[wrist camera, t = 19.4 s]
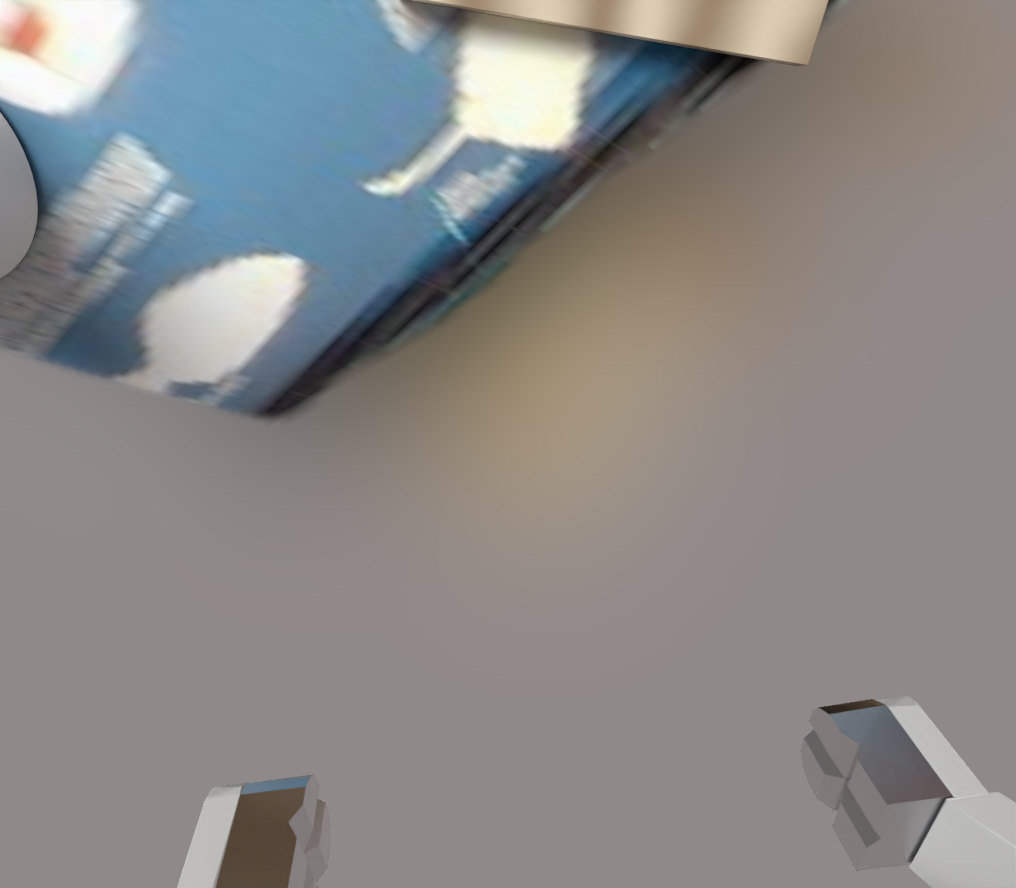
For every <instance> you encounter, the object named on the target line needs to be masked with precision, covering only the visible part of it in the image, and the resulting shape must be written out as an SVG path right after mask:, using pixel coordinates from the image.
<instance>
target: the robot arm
mask: <svg viewBox="0 0 1016 888" xmlns="http://www.w3.org/2000/svg"><path fill="white" fill-rule="evenodd" d="M37 214H38V205H37V194H36V188H35V183H34V179H33V175H32V172H31V169H30V166H29V163H28V160H27V158H26V155H25V153H24V151H23V149H22V147H21V145H20V143H19V141H18V139H17V137H16V135H15V134H14V132H13V130H12V129H11V127H10V126H9V124H8V122H7V121H6V120H5V118H4V117H3V115H2V114H1V113H0V278H2V277H3V276H5V275H6V274H8V273H9V272H10V271H11V270H13V269H14V268H15V267H16V266H17V265H18V264H19V263H20V261H21V260H22V259H23V257H24V256H25V255H26V253H27V251H28V249H29V247H30V245H31V243H32V240H33V237H34V234H35V230H36V224H37ZM809 721H810V723H811V724H812V727H813V728H814V730H813V731H812V732H810V733H809V734H808V735H807V736H806V737H805V738H804V740H803V744H802V749H801V755H802V762H803V768H804V771H805V774H806V776H807V779H808V782H809V784H810V786H811V788H812V789H813V791H814V793H815V795H816V797H817V798H818V799H819V800H820V801H822V802H823V803H825V804H826V805H827V806H828V807H830V808H831V809H832V810H834V812H833V824H832V827H833V828H834V830H835V832H836V834H837V836H838V838H839V840H840V841H841V843H842V845H843V847H844V849H845V850H846V852H847V854H848V856H849V858H850V860H851V861H852V863H853V865H854V867H855V869H856V870H857V871H858V870H866V869H874V868H882V867H891V866H899V865H907V864H911V865H910V867H909V868H910V869H911V870H913V871H914V872H915V873H916V874H917V875H918V876H919V877H920V878H922V879H923V880H924V881H925V882H926V883H927V884H928V885H930V886H931V887H932V888H1016V803H1015V802H1013V801H1011V800H1010V799H1009V798H1007V797H1005V796H1004V795H1002V794H1001V793H999V792H998V791H997V792H987V790H986V789H985V788H984V786H983V785H982V784H981V783H980V781H979V780H978V779H977V778H976V777H975V775H974V774H973V773H972V771H971V770H970V769H969V768H968V766H967V765H966V764H965V763H964V761H963V760H962V759H961V758H960V756H959V755H958V754H957V753H956V751H955V750H954V749H953V748H952V746H951V745H950V744H949V743H948V741H947V740H946V739H945V737H944V736H943V735H942V734H941V732H940V731H939V730H938V729H937V727H936V726H935V725H934V724H933V723H932V721H931V720H930V719H929V717H928V716H927V715H926V714H925V712H924V711H923V710H922V709H921V707H920V706H919V705H918V704H917V703H916V702H915V701H914V700H912V699H911V698H909V697H908V696H895V697H889V698H882V699H870V700H863V701H857V702H850V703H844V704H837V705H831V706H824V707H819V708H817V709H815V710H814V711H812V714H811V717H810V720H809ZM318 793H319V784H318V782H317V780H316V777H315V775H307V776H299V777H292V778H284V779H277V780H269V781H262V782H253V783H241V784H235V785H227V786H220V787H213V788H212V790H211V792H210V793H209V795H208V796H207V798H206V800H205V802H204V805H203V808H202V811H201V814H200V817H199V821H198V824H197V827H196V830H195V833H194V837H193V840H192V843H191V846H190V849H189V852H188V855H187V858H186V861H185V865H184V868H183V871H182V874H181V877H180V880H179V883H178V886H177V888H318V886H317V884H316V883H317V882H318V880H319V879H320V877H321V876H322V875H323V873H324V872H325V870H326V869H327V867H328V859H329V850H330V820H329V814H328V809H327V806H326V803H325V802H323V801H321V800H319V799H318Z"/></svg>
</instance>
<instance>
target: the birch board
mask: <svg viewBox="0 0 1016 888" xmlns="http://www.w3.org/2000/svg"><path fill="white" fill-rule="evenodd" d="M412 1H417V2H423V3H429V4H435V5H441V6H447V7H453V8H459V9H464V10H470V11H476V12H482V13H488V14H494V15H500V16H506V17H511V18H517V19H523V20H529V21H535V22H541V23H547V24H553V25H558V26H564V27H570V28H576V29H582V30H588V31H594V32H600V33H606V34H611V35H617V36H623V37H629V38H635V39H641V40H647V41H653V42H658V43H664V44H670V45H676V46H682V47H688V48H694V49H700V50H705V51H711V52H717V53H723V54H729V55H735V56H741V57H747V58H752V59H758V60H764V61H770V62H776V63H782V64H788V65H794V66H800V65H808V64H809V60H810V57H811V54H812V51H813V48H814V45H815V41H816V38H817V35H818V32H819V29H820V26H821V22H822V19H823V16H824V13H825V10H826V7H827V3H828V0H412Z"/></svg>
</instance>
